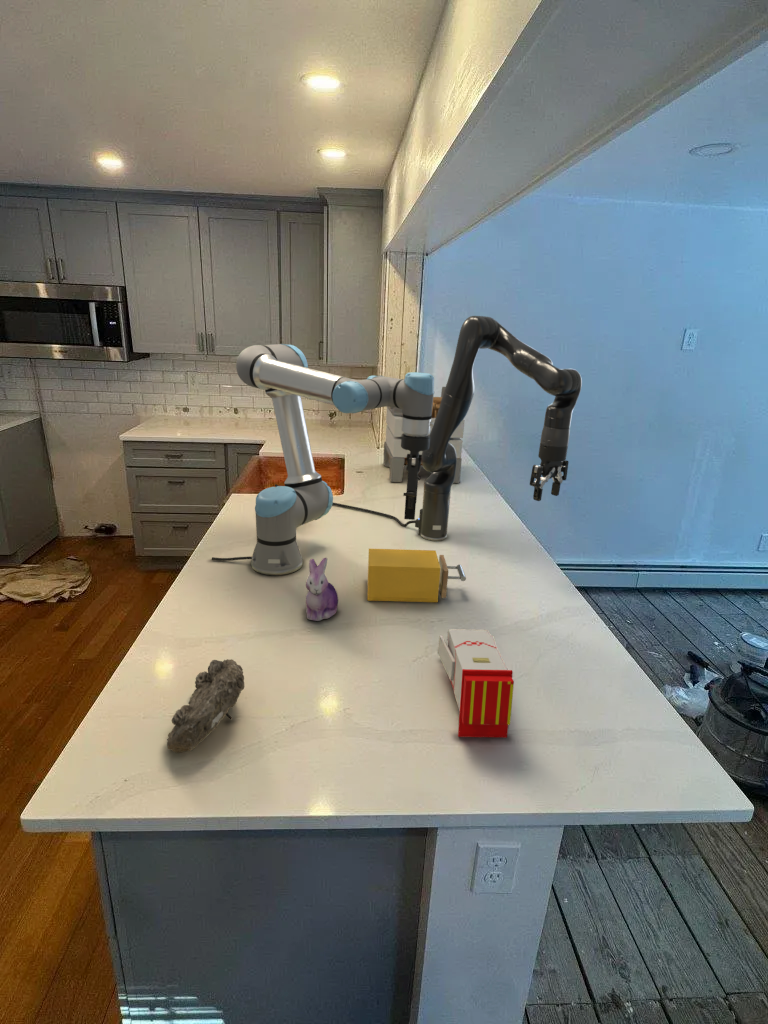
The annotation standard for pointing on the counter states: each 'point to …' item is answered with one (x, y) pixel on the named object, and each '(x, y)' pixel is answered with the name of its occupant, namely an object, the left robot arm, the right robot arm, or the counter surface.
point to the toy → (478, 682)
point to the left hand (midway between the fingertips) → (410, 510)
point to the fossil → (206, 705)
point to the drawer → (445, 577)
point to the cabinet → (403, 575)
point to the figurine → (320, 593)
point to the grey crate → (398, 456)
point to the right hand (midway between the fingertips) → (545, 497)
